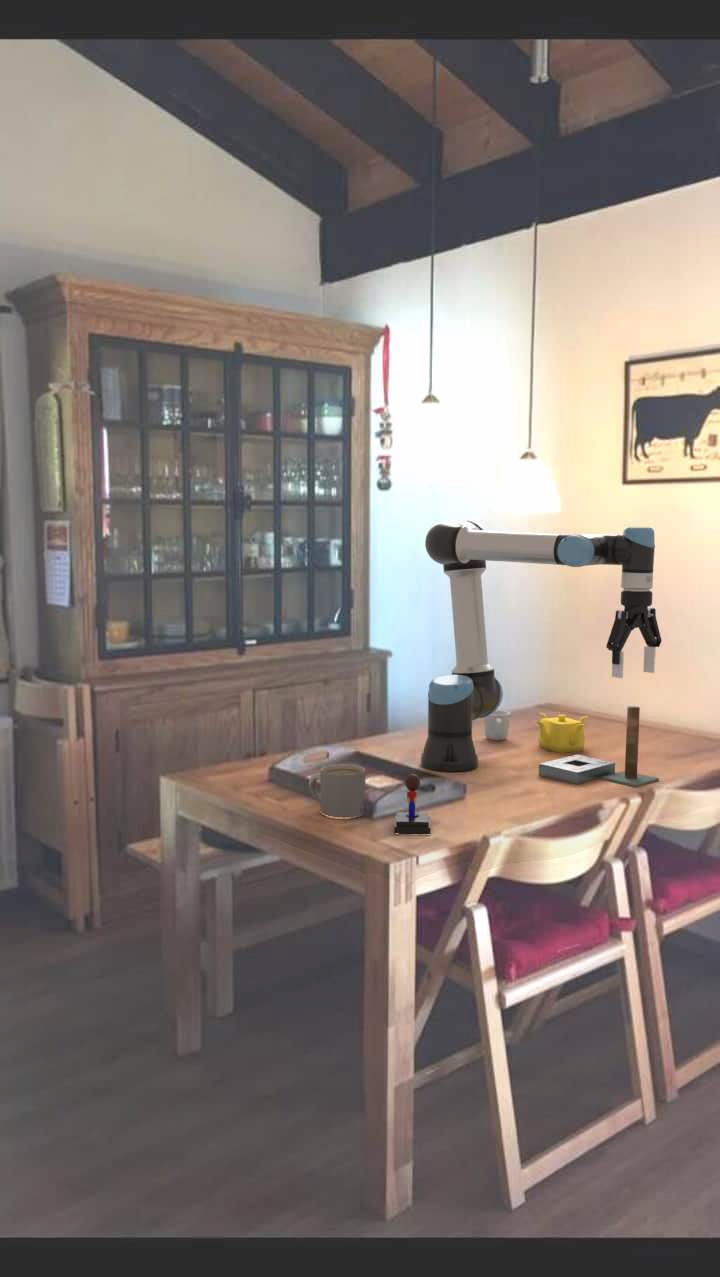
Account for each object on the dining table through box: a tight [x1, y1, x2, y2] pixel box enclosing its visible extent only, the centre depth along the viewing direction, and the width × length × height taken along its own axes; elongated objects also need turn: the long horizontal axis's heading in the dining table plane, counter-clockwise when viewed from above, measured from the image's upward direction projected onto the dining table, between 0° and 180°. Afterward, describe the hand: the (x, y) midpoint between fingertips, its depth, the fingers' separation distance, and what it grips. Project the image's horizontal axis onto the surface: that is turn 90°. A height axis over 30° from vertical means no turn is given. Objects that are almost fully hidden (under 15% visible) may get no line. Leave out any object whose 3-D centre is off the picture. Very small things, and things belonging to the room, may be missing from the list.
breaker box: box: [538, 754, 616, 785], centre depth 267 cm, size 16×12×3 cm
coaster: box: [601, 770, 660, 788], centre depth 262 cm, size 10×10×1 cm
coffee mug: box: [308, 763, 366, 818], centre depth 232 cm, size 13×10×10 cm
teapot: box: [534, 712, 589, 754], centre depth 298 cm, size 15×14×10 cm
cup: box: [483, 709, 511, 741], centre depth 308 cm, size 11×8×8 cm
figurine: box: [393, 773, 432, 835], centre depth 219 cm, size 8×8×12 cm
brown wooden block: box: [624, 705, 641, 779], centre depth 261 cm, size 3×3×18 cm
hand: (633, 674), depth 259 cm, fingers open, 13 cm apart
